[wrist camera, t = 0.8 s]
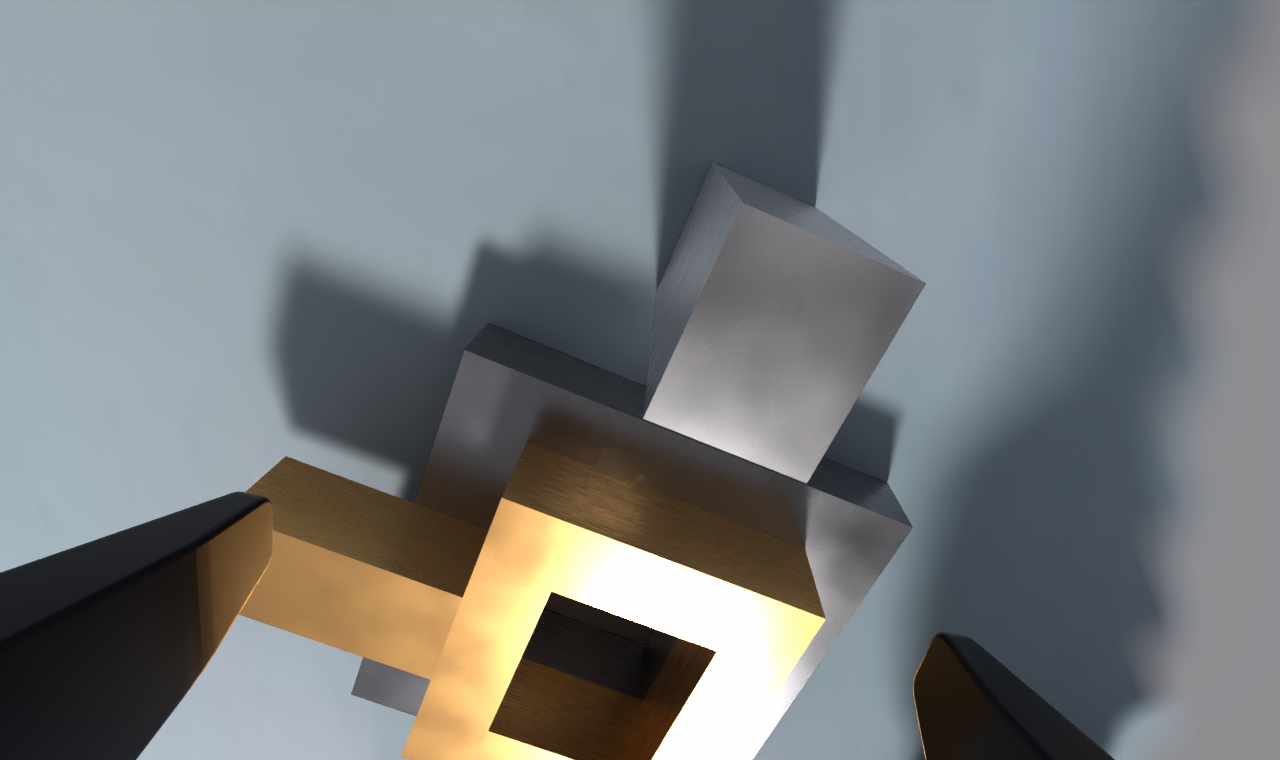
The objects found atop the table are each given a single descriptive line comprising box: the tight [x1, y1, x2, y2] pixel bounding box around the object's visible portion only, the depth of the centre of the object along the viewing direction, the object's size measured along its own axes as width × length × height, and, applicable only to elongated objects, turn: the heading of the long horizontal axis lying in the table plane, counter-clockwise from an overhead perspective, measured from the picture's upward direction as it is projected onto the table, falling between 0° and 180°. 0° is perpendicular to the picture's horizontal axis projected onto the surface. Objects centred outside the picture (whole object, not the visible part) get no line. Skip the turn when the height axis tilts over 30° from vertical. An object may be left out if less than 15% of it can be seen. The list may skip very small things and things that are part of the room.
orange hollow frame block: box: [239, 323, 913, 760], centre depth 21 cm, size 18×14×6 cm
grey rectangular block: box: [643, 162, 926, 483], centre depth 15 cm, size 3×4×9 cm
